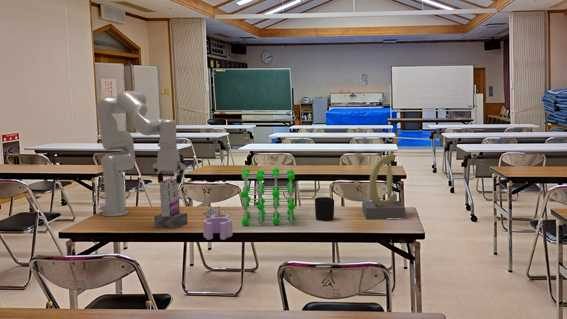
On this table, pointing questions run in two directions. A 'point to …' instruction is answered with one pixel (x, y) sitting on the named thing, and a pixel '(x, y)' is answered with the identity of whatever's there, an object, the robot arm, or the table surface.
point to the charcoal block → (171, 221)
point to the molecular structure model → (275, 199)
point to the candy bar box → (169, 197)
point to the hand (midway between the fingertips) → (169, 183)
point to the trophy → (377, 206)
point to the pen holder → (324, 208)
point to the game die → (213, 212)
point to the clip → (217, 226)
